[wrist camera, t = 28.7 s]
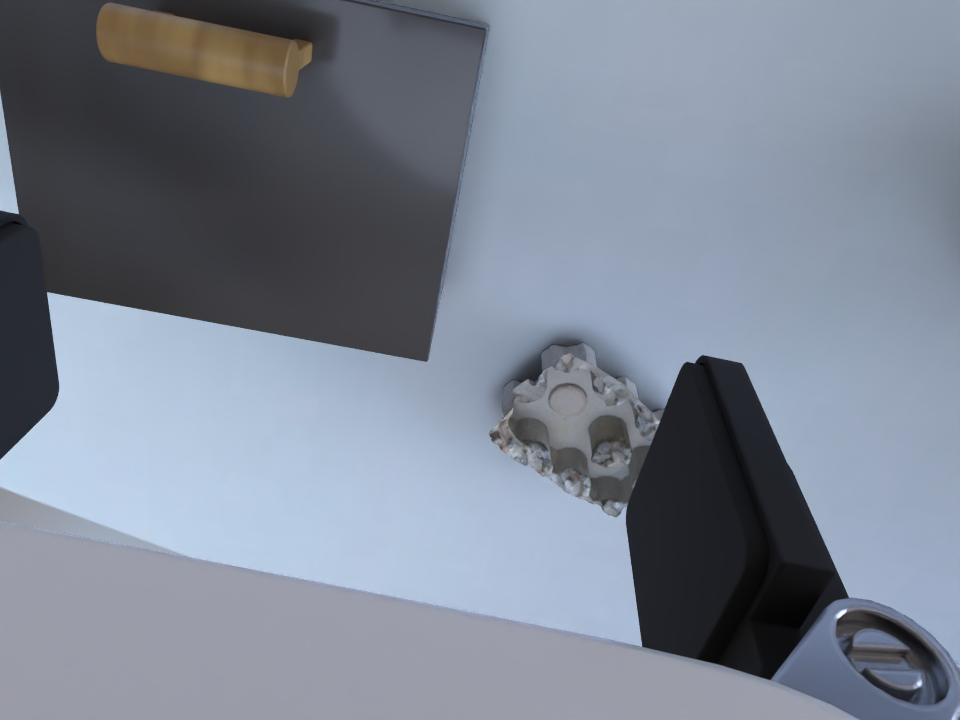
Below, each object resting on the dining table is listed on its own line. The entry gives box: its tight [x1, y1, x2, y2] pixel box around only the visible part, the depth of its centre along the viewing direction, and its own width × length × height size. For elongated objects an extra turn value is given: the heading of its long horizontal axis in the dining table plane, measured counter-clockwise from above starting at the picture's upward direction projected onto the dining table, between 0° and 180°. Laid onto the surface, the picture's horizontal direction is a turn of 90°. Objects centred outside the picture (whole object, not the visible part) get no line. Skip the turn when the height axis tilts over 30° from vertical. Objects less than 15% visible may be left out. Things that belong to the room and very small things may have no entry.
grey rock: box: [489, 343, 665, 517], centre depth 42 cm, size 11×8×4 cm
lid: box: [0, 0, 487, 362], centre depth 28 cm, size 14×18×5 cm
